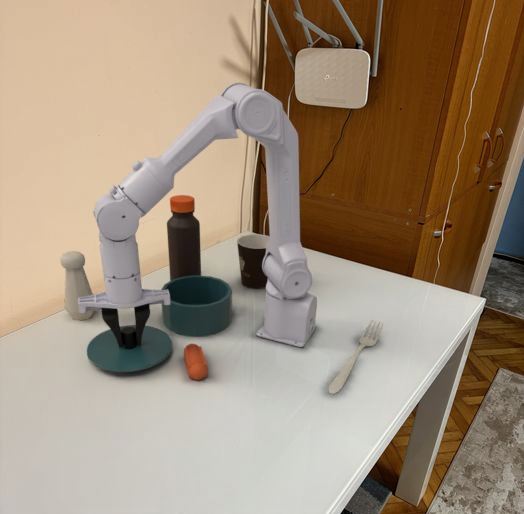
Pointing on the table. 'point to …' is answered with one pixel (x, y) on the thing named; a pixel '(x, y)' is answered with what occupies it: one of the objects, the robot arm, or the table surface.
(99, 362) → the pot lid
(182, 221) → the bottle
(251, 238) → the coffee mug
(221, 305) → the pot
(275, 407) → the table surface
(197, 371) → the hot dog
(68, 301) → the salt shaker
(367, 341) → the fork
